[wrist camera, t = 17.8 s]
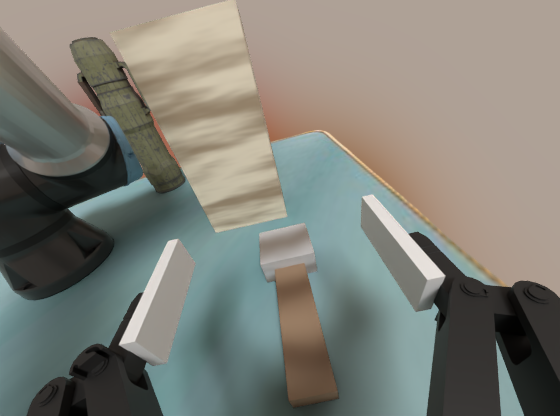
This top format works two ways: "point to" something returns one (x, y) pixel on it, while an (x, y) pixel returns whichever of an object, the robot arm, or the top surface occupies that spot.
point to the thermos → (125, 110)
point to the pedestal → (208, 110)
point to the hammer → (298, 314)
